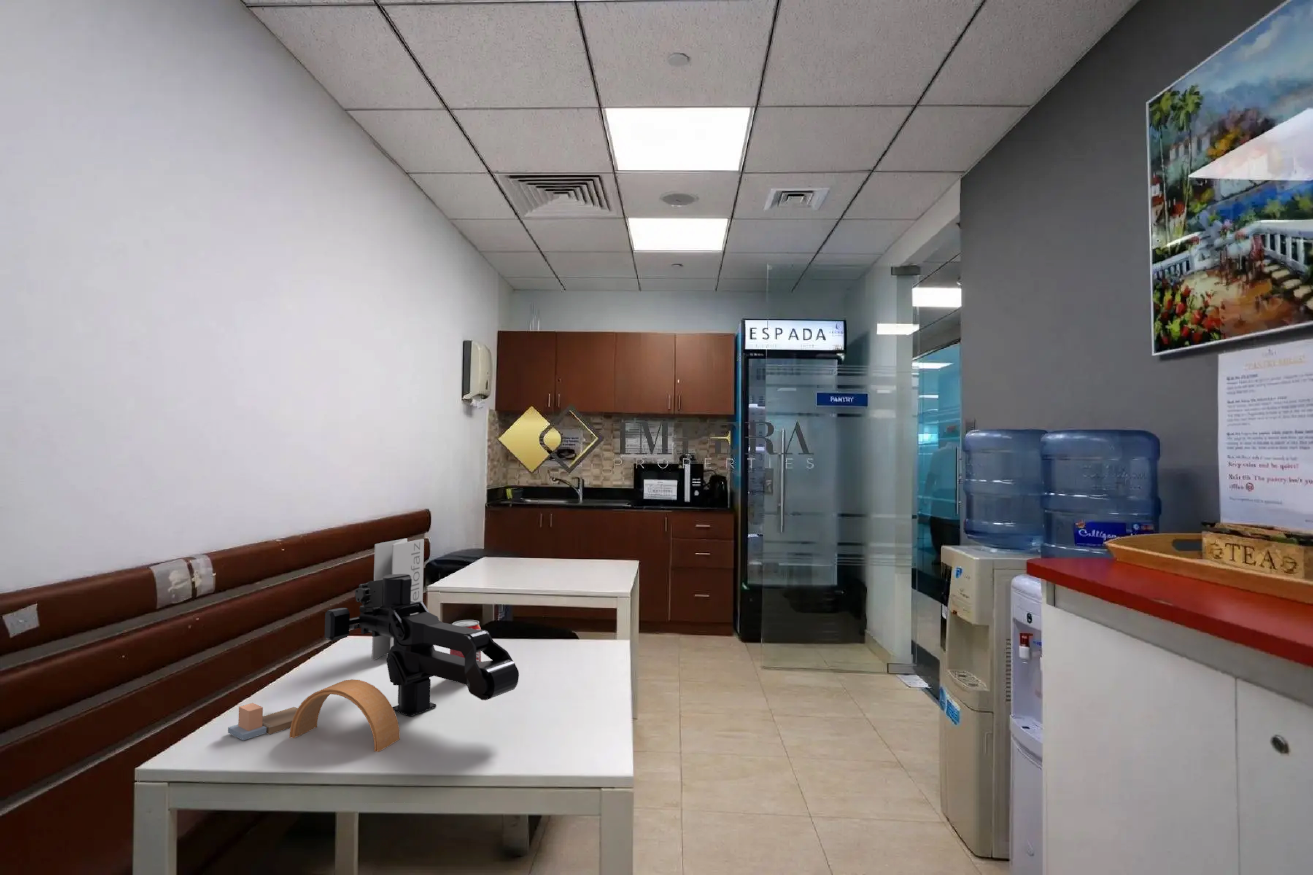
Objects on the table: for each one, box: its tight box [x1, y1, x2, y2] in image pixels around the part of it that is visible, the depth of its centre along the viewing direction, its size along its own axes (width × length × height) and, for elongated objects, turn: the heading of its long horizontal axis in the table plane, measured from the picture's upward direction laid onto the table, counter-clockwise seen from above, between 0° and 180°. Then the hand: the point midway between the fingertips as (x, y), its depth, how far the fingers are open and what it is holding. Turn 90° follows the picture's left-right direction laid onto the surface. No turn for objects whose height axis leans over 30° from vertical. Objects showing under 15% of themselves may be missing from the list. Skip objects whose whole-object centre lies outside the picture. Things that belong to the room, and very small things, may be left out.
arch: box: [289, 678, 401, 753], centre depth 118 cm, size 6×20×10 cm, turn 72°
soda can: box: [449, 619, 482, 662], centre depth 152 cm, size 7×7×13 cm
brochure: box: [371, 538, 425, 661], centre depth 172 cm, size 14×6×30 cm, turn 168°
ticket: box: [262, 706, 298, 735], centre depth 124 cm, size 7×8×1 cm
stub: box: [227, 702, 267, 741], centre depth 119 cm, size 6×4×5 cm, turn 56°
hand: (347, 612), depth 147 cm, fingers open, 9 cm apart
